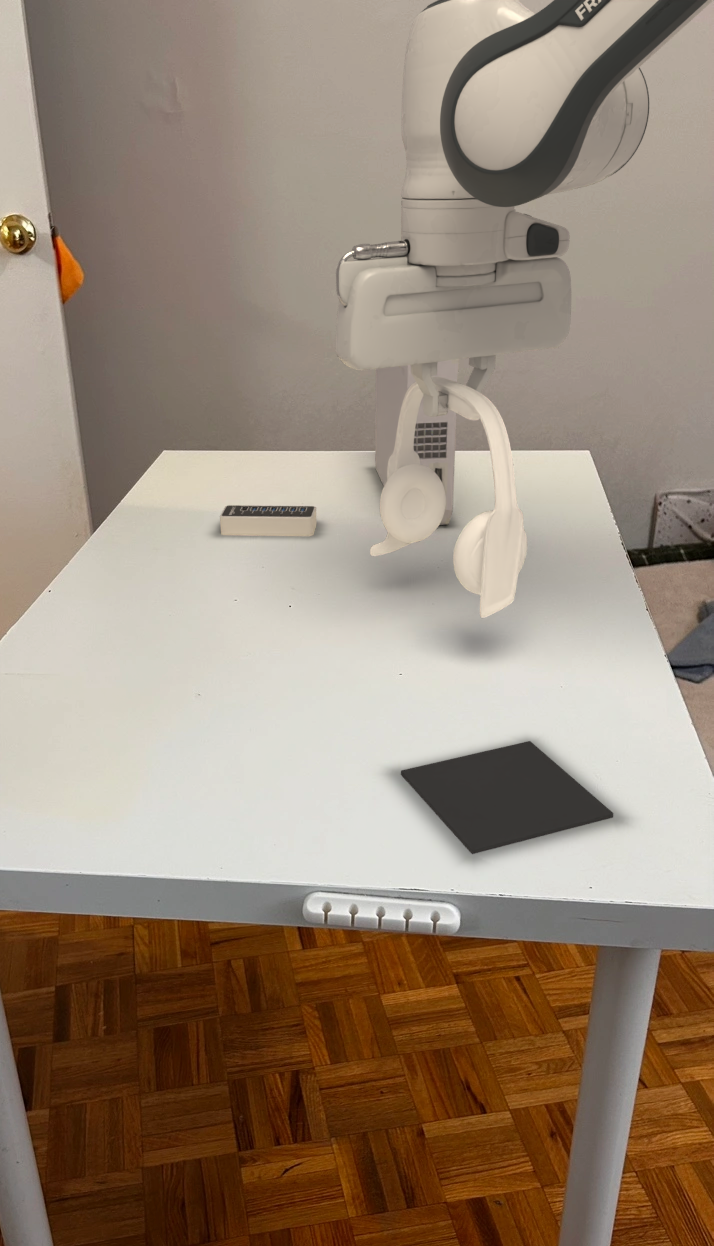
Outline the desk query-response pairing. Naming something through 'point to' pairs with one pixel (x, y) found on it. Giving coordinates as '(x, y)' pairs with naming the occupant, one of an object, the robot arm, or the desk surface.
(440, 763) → the desk mat
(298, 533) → the multiport hub
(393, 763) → the desk surface
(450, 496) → the game console
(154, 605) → the desk surface
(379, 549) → the headset
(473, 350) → the robot arm
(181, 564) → the desk surface
